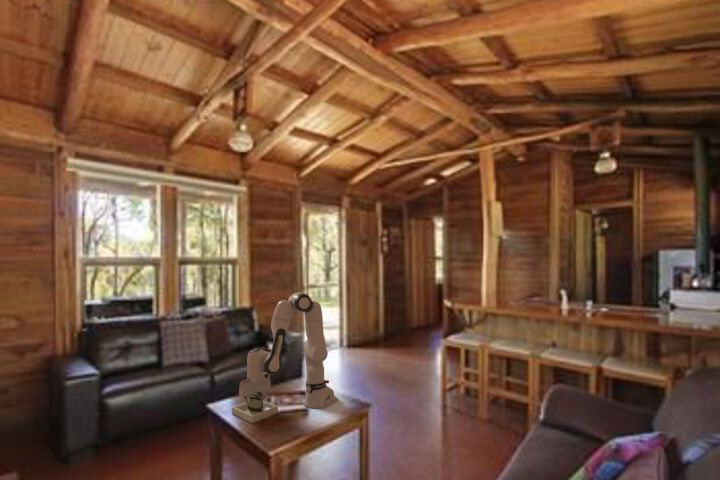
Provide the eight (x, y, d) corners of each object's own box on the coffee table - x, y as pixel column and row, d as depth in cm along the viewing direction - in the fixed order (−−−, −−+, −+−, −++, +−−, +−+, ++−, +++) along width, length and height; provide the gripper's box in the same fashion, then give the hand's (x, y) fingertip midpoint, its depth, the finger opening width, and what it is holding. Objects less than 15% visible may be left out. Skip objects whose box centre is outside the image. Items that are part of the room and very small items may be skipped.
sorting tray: (257, 404, 257) (257, 398, 257) (277, 413, 244) (277, 406, 244) (231, 414, 243) (231, 407, 243) (252, 423, 230) (252, 416, 230)
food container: (269, 406, 247) (267, 391, 244) (264, 413, 241) (261, 398, 239) (252, 403, 251) (249, 389, 248) (246, 410, 246) (243, 395, 243)
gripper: (243, 382, 233) (243, 406, 233) (272, 373, 249) (272, 396, 249) (236, 380, 238) (236, 404, 238) (265, 371, 253) (265, 393, 253)
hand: (255, 400), depth 243 cm, fingers closed on food container, 6 cm apart
